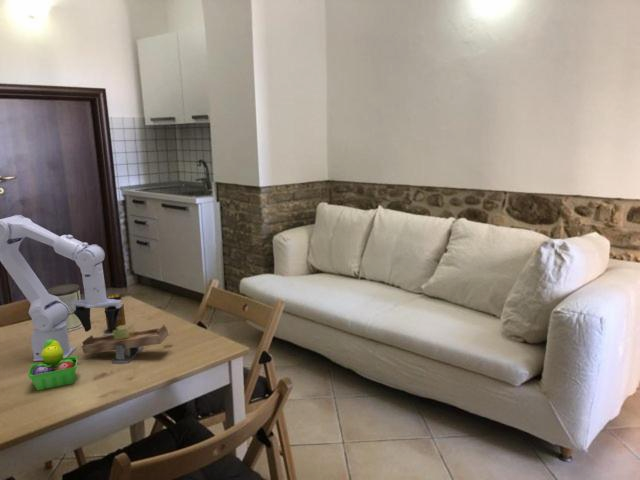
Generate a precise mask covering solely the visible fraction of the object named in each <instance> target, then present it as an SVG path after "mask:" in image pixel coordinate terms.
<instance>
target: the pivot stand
mask: <svg viewBox="0 0 640 480" xmlns="http://www.w3.org/2000/svg"><path fill="white" fill-rule="evenodd" d="M144 347H145V346H141V347H134V348H126V349H125V346H124V344H116V345H115V350H114V352H115V357H114V358H112V359H111V364H130V362H131V361H132V360H133V359H134V358H135V357H136V356H137V355H138V354H139V353H140V352H141V351H142V350H143V349H144Z"/></svg>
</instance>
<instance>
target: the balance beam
mask: <svg viewBox="0 0 640 480" xmlns="http://www.w3.org/2000/svg"><path fill="white" fill-rule="evenodd" d="M135 333H136V336H135V337H134V338H130V339H123V340H116V341H115V338H114V335H113V334H112V335H102V336H96V337H94V336H93V335H90V336H89V337H87V338H86V339H84V340H83V341H82V342H81V343H82V346H81V348H82V349H81V350H82V352H83V354H84V355H88V354H90V355H91V354H96V353H97V354H98V353H105V352H111V351H115V345H116V344H124V346H125V349H126V348H134V347H141V346H143V347H145V346H146V347H147V346H155V345H160V344H162V343H163V342H164V341H165V340H166V339H167V337H168V336H170V334H169V332H168V328H167V326H166V325H165V324H163V325H161V327H158V328H152V329H151V328H150V329H143V330H137V331H136V330H135Z"/></svg>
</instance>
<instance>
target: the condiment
mask: <svg viewBox="0 0 640 480" xmlns="http://www.w3.org/2000/svg"><path fill="white" fill-rule="evenodd" d="M106 297H107V299H114V300H122V307H121V308H120V311H119V313H118V316H117V320H116V326H115V328H117V327H118V326H120V325H127V324H128V323H126V322H127V321H126V314H125V307H124V306H125V305H124V302H123V299H122V294H121V293H111V294H108V295H107V294H106ZM107 309H108V308H104V312H105V311H106V310H107ZM105 323H106V327H105V329H104V330H103V333H102V334H101V335H102V336H108V335H113V331H112V332H110V330H109V324H108V319H107V316H106V315H105Z"/></svg>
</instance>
